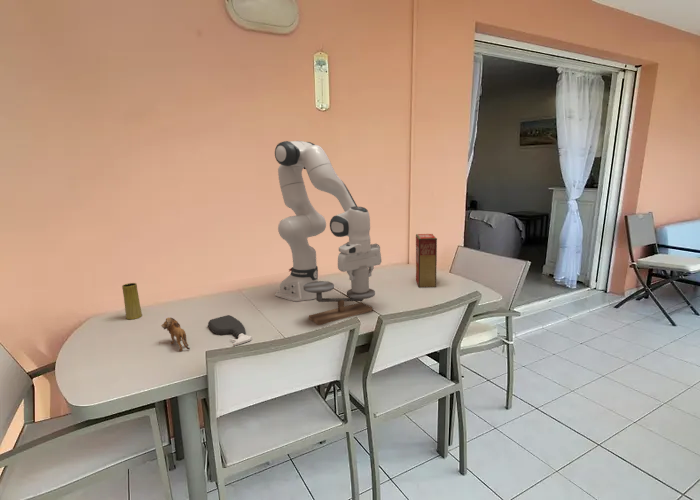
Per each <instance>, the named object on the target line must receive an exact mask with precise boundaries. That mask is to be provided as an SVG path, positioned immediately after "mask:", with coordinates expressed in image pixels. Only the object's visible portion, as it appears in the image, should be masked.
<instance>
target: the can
mask: <svg viewBox="0 0 700 500" xmlns="http://www.w3.org/2000/svg"><path fill="white" fill-rule="evenodd" d="M366 266H367V265H366ZM366 266H362V267H359V269H356V270H352V273H351V274H352V275H353V276H355V280H352V281H351V280H350V281H351V282H350V286H351V287H350V289H351V290H352V291H353V292H354V293H356V294H364V293H367V291H369V289H370V283H369V281H370V280H369V279H370V277H369V268H368V267H366Z"/></svg>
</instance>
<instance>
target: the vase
mask: <svg viewBox="0 0 700 500" xmlns="http://www.w3.org/2000/svg"><path fill="white" fill-rule="evenodd" d="M121 288H122V294H123V303H124V310H125V319H126V320H128V321H129V320H130V321H131V320H138V319H140V318H141V317H143V313H142V308H141V303H140V296H139V292H138V285H137V283H136V282H130V283H125V284H123V285H122V286H121Z"/></svg>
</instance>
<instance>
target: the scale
mask: <svg viewBox="0 0 700 500" xmlns="http://www.w3.org/2000/svg"><path fill="white" fill-rule="evenodd" d="M303 287H304V290H305V291H307V292H311V293H316V296H317V298H316V301H317V302H318V303H329V302H330V303H334V302H337V308H333V309H328V310H324V311H320V312H318V313H313V314H309V315H308V320H310V321H311V322H312V323H314V324H316V325H317V326H321V325H324V324H329V323H332V322H335V321H339V320H344V319H347V318H350V317H354V316H357V315H362V314H365V313H369V312H372V311H373V306H371V305H369V304H366V303H365V302H363V300H366V299H371V298H373V297H375V295H376V291H375V290H374V289H372V288H369V291H367V293H364V294H356V293H354V292H353V291H352V290H351V288H350V289H348V290H347V291H346V296H347V297H331V298H330V297H328V298H323V293H327V292H331V291H332V290H334V289H335V284H334V283H333V282H331V281H326V280H318V281H315V282H310V283H307V284H305V285H304V286H303ZM345 302H355V303H353V304H348V305H345Z"/></svg>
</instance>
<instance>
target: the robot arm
mask: <svg viewBox="0 0 700 500" xmlns="http://www.w3.org/2000/svg"><path fill="white" fill-rule="evenodd" d="M274 157H275V160H276V162H277V163H278V164H279V166H278V168H277V173H278V174H277V175H278V181H279V182H278V183H279V187H280V191H281V195H282V198H283V203H284V205H285V207H287V208H289V209H291V210H292V212H293V213H294V214H295V215H291V216H288V217H285V218H284V219H282V220H280V221H279V223H278V226H277V230H278V235H279V236H280V238H281V239H282V240H284V241H286V243H287V244H288V246H289V247H290V251H291V256H292V267H290V268H289V269H288V272H290V275H288V276H286V278H285V279H283V280H282V281H281V282H280V285H279V290H277V291H276V292H275V293H274V296H275V297H277V298H282V299H285V300H289V301H292V302H301V301H309V300H315V299H317V296H316V293H311V292H307V291H305V290H304V287H303V286H304V285H305V284H307V283H310V282H315V281H319V279H318V278H319V269H318V265H317V264H318V263H317V251H316V249H315V248H314V247H313V246H311V245H310V243H309V241H308V240H309V239H308V238H313V237H317V236H319V235H320V234H322V233H323V232H325V230H326V228H327V220H326V219H325V216H323V215H322V214H321V213H319V212H318V211H317V210H316V209H315V207H314V206H313V204H312V202H311V201H310V198H309V196H308V192H307V190H306V185H305V182H304V178H303V170H305V171H306V174H307V175H308V178H309V181H310V182H311V184H312V185H313V187H314V188H315V189H317V190H319V191H320V192H324V193H328V194H330V195H332V196H334V198H336V199H337V201H338V202H339V204H340V206H341V208H342V209H343V212H342V213H338V214H336V215H333V216H332V217H331V219H330V221H329V230H330V232H331V234H332V235H333V236H335V237H338V238H343V237H348V241H347V242H346V243H344V244H342V245H340V246H339V247H338V252H339V253H338V255H337V269H338V271H339V272H343V273H344V272H346V274H347V275H348V276H349V279H348V280H349V281H352V280H355V276H353V275H352V274H351V273H352V270H356V269H359V267H362V266H366V265H367V266H366V267H368V268H369V278H371V277H372V273H373V271H374V268H375V267H376V266H380V265H381V264H382V253H381V245H380V244H378V243H371V236H370V231H371V217H370V213H369V210H368V209H367V208H365V207H363V206H359V205H357V203H356V201H355V200H354V198H353V196H352V193H350V190H349V189H348V187H347V185H346V184H345V182H344V181H343V180H342V179H341V178H340V177H339V176H338V174H337V173H336V171H335V169H334V167H333V165H332V163H331V160H330V159H329V156H328V155H327V153H326V151H325V150H324V149H323V147H321V146H320V145H318V144H315V143H314V142H310V141H302V140H293V141H292V140H291V141H289V140H285V141H281V142H278V143H277V144H276V147H275V149H274Z"/></svg>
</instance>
